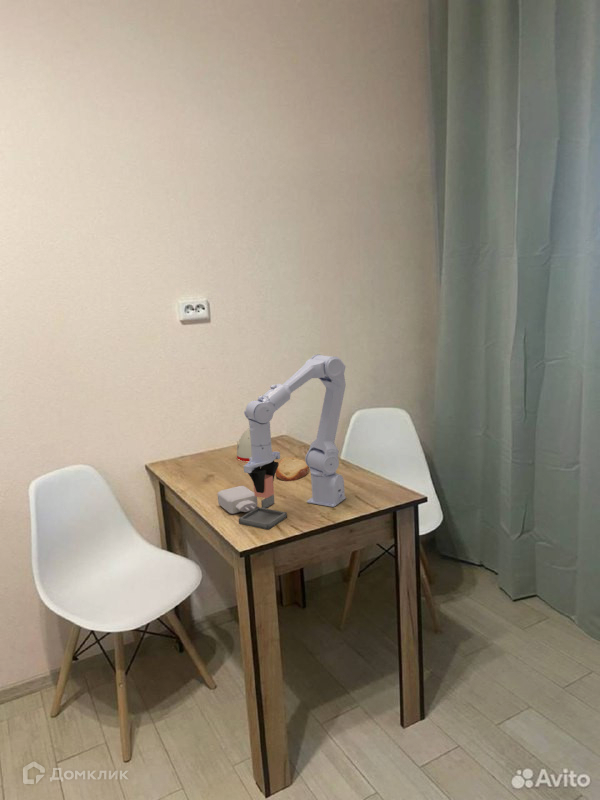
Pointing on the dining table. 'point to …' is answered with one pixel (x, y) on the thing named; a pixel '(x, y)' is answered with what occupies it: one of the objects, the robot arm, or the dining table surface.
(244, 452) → the kitchen timer
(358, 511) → the dining table surface
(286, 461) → the bread slice
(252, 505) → the charger
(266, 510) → the tray
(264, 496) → the salmon gift carton
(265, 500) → the bar
